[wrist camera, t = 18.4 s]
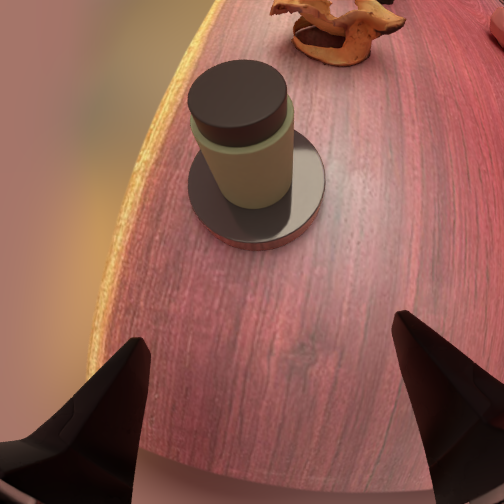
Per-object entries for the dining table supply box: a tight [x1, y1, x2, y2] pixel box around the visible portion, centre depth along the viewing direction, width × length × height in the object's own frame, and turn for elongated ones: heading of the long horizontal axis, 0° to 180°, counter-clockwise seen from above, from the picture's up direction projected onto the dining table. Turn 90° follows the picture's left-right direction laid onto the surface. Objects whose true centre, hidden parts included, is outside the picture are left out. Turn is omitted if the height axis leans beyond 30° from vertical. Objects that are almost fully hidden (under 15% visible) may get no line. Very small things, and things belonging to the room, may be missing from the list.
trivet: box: [188, 130, 325, 251], centre depth 20 cm, size 9×9×2 cm
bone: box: [270, 0, 406, 66], centre depth 20 cm, size 12×10×8 cm
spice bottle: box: [188, 60, 294, 209], centre depth 15 cm, size 5×5×8 cm
